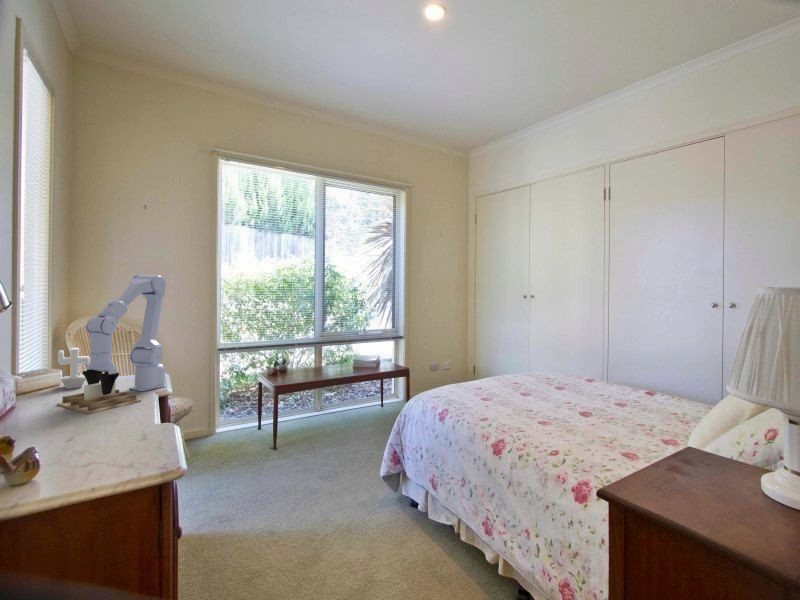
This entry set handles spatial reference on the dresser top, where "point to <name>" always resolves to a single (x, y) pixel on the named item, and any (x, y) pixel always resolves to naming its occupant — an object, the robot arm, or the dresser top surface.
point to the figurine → (73, 368)
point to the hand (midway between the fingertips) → (100, 392)
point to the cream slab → (95, 391)
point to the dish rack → (97, 402)
